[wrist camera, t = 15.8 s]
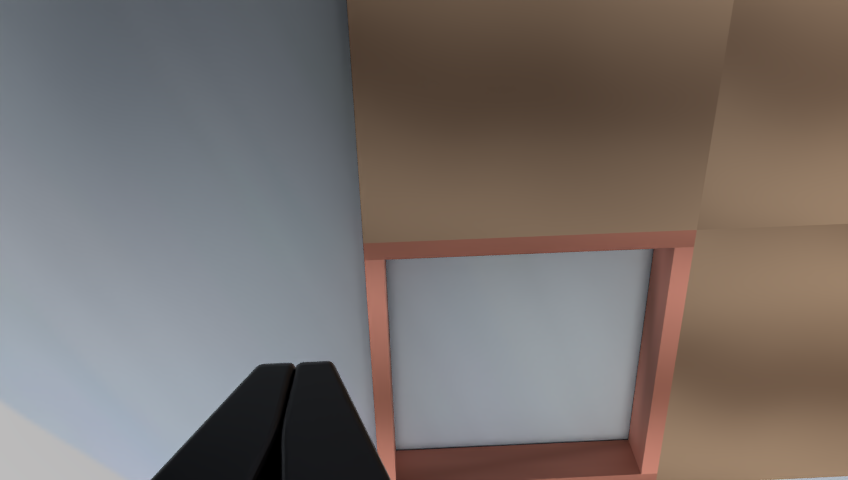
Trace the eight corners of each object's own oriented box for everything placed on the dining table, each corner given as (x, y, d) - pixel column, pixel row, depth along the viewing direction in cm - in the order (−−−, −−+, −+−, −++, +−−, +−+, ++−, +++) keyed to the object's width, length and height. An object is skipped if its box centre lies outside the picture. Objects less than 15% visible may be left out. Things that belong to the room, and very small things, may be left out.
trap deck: (339, -157, 17) (336, -153, 16) (1488, -189, 18) (1575, -187, 17) (380, 462, 26) (380, 498, 25) (1151, 426, 27) (1190, 459, 25)
